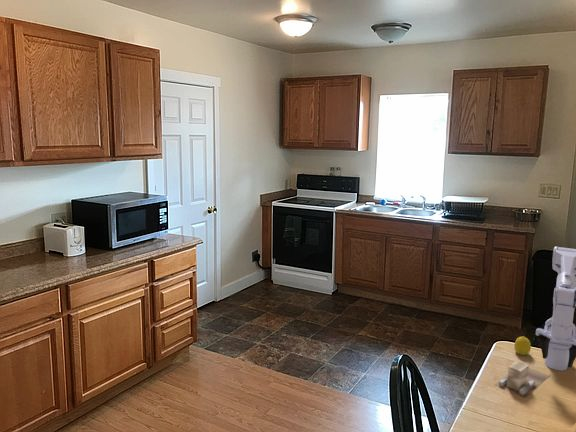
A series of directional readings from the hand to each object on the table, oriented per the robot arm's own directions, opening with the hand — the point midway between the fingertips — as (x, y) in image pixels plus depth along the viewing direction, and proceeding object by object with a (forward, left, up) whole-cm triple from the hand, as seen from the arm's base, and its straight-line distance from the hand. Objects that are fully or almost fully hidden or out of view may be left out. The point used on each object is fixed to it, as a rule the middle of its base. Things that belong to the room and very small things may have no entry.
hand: (557, 361), depth 156 cm
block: (+9, -8, -9) cm, 15 cm away
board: (+5, -8, -10) cm, 14 cm away
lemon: (-15, -17, -10) cm, 25 cm away
